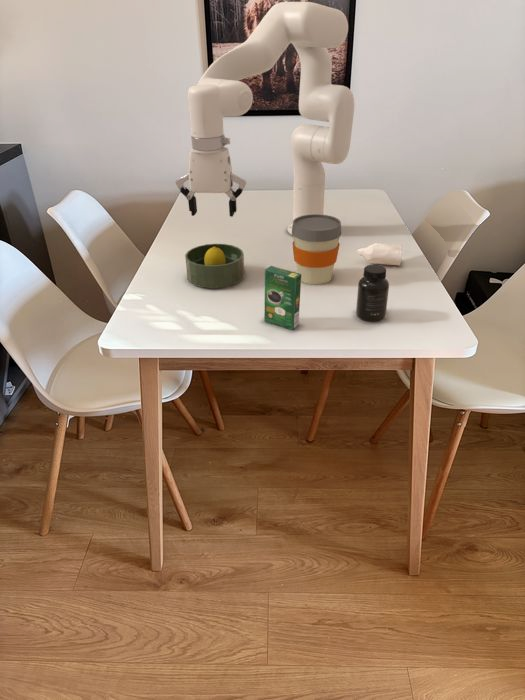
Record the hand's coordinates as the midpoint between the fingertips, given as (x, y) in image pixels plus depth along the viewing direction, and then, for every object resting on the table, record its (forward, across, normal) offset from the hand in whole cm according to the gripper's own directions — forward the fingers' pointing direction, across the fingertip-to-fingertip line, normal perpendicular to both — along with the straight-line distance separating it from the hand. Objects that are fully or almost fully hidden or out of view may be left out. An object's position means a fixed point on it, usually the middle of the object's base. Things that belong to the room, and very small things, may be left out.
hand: (213, 214), depth 140 cm
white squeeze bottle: (+18, -43, -13) cm, 48 cm away
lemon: (+17, 0, +1) cm, 17 cm away
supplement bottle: (+17, -40, +18) cm, 47 cm away
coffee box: (+17, -20, +24) cm, 35 cm away
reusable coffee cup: (+18, -26, -2) cm, 31 cm away
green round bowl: (+17, 0, +1) cm, 17 cm away
